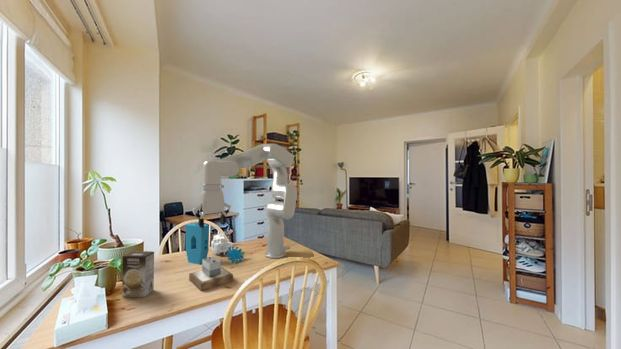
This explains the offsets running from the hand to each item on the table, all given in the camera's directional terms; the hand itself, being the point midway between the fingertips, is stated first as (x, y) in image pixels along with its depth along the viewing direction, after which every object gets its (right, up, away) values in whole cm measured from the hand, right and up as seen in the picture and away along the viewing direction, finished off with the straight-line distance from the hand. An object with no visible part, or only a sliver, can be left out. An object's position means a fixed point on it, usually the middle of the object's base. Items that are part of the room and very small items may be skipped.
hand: (212, 225), depth 115 cm
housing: (0, -21, -1) cm, 21 cm away
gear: (+4, -24, +24) cm, 34 cm away
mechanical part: (-8, -24, +36) cm, 44 cm away
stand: (0, -24, -1) cm, 24 cm away
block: (-17, -24, +22) cm, 37 cm away
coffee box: (-25, -25, -13) cm, 37 cm away
